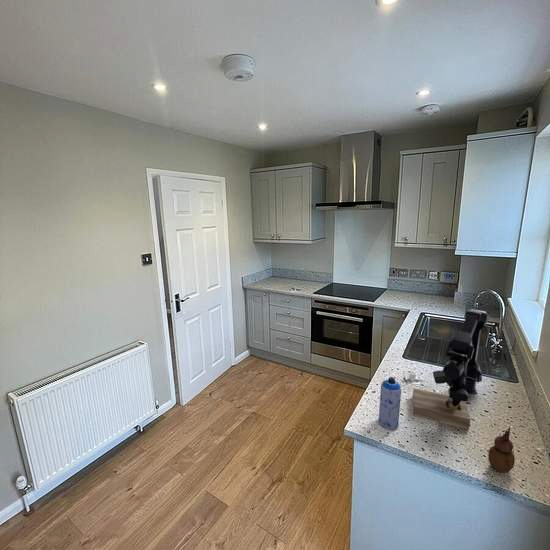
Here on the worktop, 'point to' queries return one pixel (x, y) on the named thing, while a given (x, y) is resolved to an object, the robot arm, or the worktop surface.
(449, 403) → the oak peg
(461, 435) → the worktop surface
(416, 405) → the walnut socket block
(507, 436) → the brown bottle gourd
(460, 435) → the worktop surface
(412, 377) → the teacup and saucer
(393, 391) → the aerosol can
